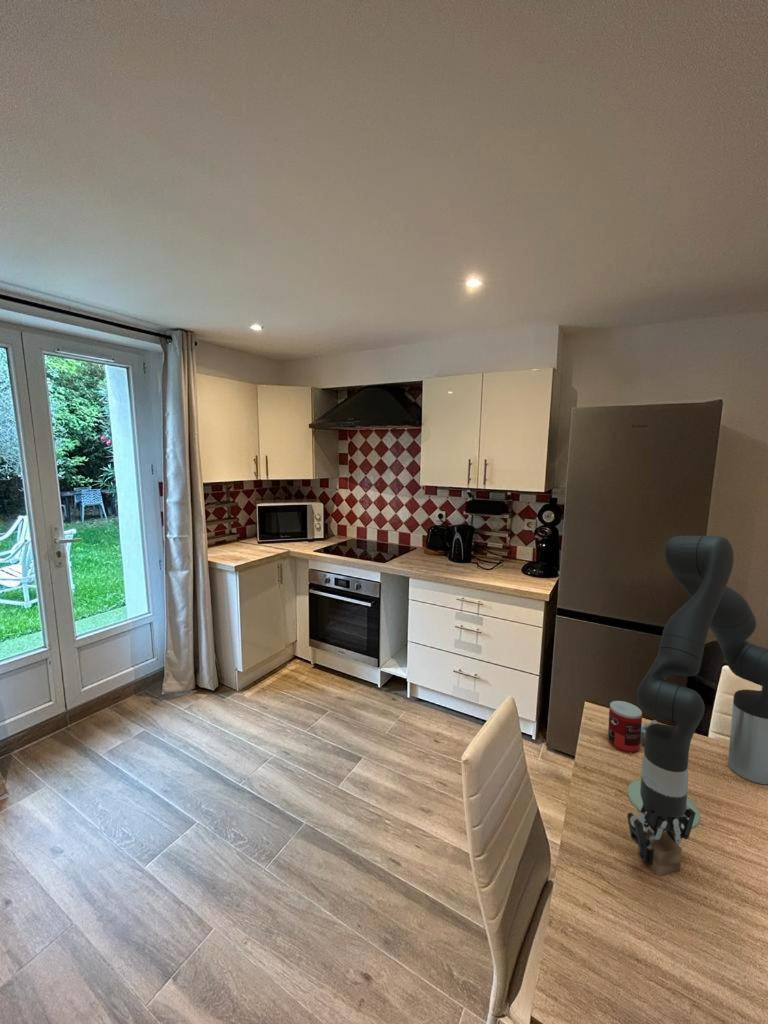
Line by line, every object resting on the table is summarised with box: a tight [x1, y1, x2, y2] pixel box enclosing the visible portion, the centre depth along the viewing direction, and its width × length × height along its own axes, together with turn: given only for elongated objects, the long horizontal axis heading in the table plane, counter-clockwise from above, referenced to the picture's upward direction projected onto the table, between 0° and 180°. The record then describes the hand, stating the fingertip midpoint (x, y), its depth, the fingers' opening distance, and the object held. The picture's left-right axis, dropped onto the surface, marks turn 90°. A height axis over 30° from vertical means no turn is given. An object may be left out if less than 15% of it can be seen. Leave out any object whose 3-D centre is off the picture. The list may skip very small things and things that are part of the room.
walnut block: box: [637, 827, 682, 877], centre depth 83 cm, size 5×5×5 cm
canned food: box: [607, 700, 643, 754], centre depth 118 cm, size 8×8×11 cm
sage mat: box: [627, 778, 701, 830], centre depth 98 cm, size 14×14×1 cm
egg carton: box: [640, 719, 660, 746], centre depth 120 cm, size 11×8×4 cm
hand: (658, 858), depth 84 cm, fingers closed on walnut block, 5 cm apart
